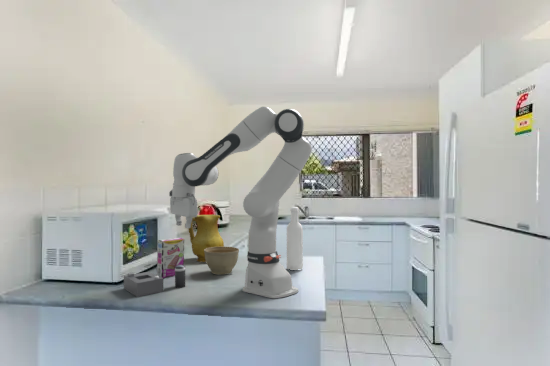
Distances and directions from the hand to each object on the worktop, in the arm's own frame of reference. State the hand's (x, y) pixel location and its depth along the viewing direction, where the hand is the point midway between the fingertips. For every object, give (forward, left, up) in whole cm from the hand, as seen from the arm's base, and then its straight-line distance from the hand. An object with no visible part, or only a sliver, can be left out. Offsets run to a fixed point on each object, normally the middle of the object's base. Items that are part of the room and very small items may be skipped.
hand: (183, 226), depth 146 cm
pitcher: (+37, -33, -24) cm, 55 cm away
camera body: (+4, +15, -24) cm, 28 cm away
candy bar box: (+18, -3, -24) cm, 30 cm away
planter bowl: (+7, -23, -24) cm, 34 cm away
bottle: (-11, -53, -24) cm, 59 cm away
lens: (-1, +2, -24) cm, 24 cm away
